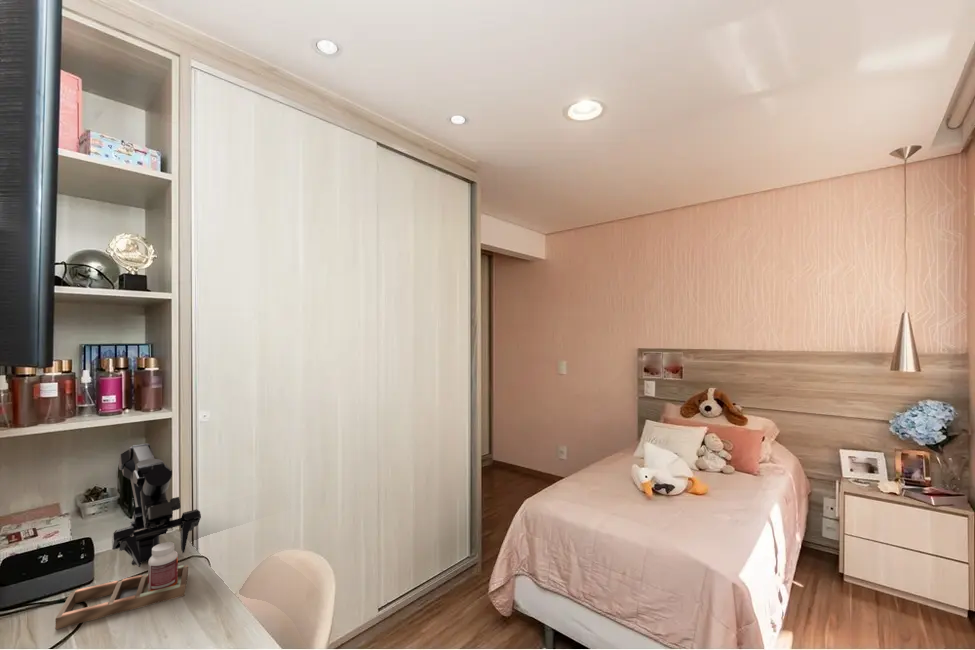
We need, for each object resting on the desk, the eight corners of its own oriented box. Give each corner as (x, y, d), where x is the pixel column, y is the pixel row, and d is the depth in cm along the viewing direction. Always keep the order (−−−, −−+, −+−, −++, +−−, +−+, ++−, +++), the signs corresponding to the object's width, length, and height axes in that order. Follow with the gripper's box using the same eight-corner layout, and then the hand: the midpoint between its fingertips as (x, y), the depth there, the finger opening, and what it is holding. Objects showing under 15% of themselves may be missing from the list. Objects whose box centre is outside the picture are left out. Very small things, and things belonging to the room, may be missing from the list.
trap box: (55, 629, 98) (55, 617, 98) (70, 602, 107) (70, 591, 107) (184, 595, 110) (184, 584, 110) (188, 574, 120) (188, 563, 120)
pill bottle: (183, 584, 114) (183, 543, 114) (157, 598, 108) (158, 554, 108) (167, 579, 116) (168, 538, 116) (142, 592, 111) (142, 549, 111)
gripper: (113, 499, 110) (118, 560, 102) (199, 480, 123) (209, 532, 116) (109, 520, 115) (114, 578, 108) (192, 499, 129) (202, 550, 121)
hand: (162, 559), depth 113 cm, fingers open, 9 cm apart
